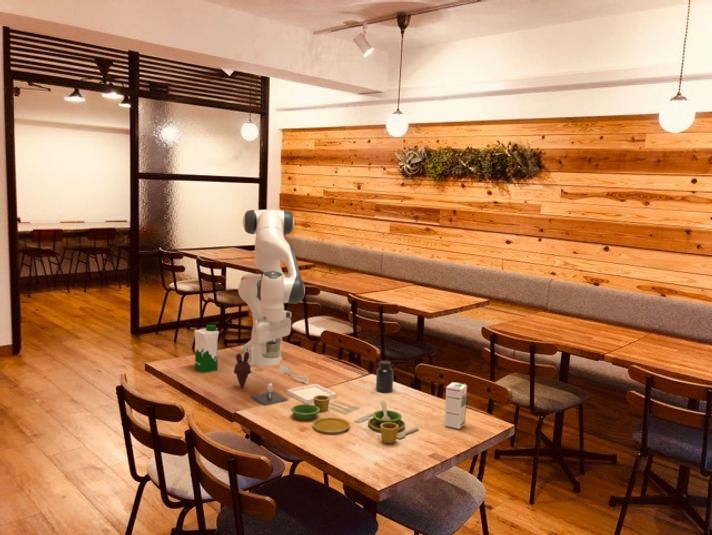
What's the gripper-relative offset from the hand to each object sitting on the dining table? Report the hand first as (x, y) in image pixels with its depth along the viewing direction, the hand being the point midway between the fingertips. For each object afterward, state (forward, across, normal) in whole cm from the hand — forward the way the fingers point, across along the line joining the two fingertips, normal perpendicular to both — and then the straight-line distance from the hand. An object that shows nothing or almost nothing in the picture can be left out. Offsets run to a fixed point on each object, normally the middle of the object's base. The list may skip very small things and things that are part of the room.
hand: (270, 351), depth 227 cm
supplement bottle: (+19, +35, -31) cm, 51 cm away
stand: (+19, 0, 0) cm, 19 cm away
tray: (+19, +13, -11) cm, 25 cm away
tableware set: (+20, -2, -37) cm, 42 cm away
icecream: (+19, +3, +16) cm, 25 cm away
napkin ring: (+2, 0, 0) cm, 2 cm away
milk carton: (+19, +13, +43) cm, 49 cm away
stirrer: (+20, +26, +6) cm, 33 cm away
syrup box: (+19, +17, -68) cm, 72 cm away
